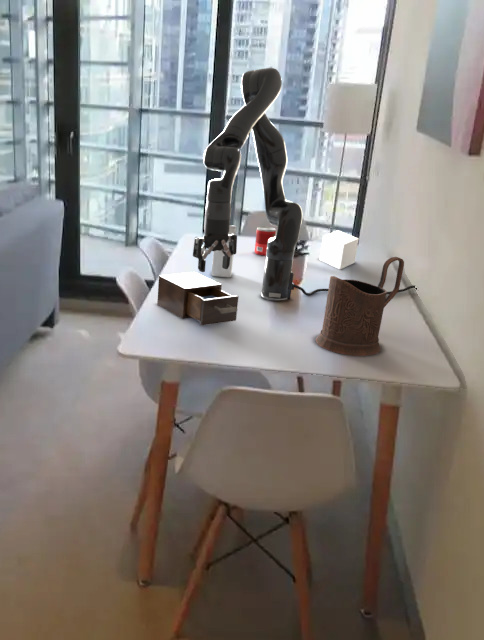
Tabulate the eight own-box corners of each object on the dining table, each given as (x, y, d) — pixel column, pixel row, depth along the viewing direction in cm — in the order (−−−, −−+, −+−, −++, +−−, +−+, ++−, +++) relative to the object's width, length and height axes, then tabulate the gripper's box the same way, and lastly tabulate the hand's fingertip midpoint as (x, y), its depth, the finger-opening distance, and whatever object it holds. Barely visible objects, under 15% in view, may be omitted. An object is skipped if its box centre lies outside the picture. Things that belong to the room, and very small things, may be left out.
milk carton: (230, 278, 271) (235, 227, 263) (211, 276, 272) (215, 226, 264) (231, 273, 277) (236, 224, 270) (213, 271, 278) (217, 222, 271)
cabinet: (219, 313, 230) (221, 284, 226) (182, 318, 224) (184, 288, 220) (192, 300, 243) (194, 271, 239) (157, 304, 236) (158, 275, 232)
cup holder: (302, 336, 213) (314, 253, 204) (366, 328, 222) (381, 249, 213) (342, 358, 198) (357, 270, 188) (409, 349, 207) (427, 265, 197)
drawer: (245, 325, 218) (248, 300, 214) (210, 330, 212) (213, 305, 209) (209, 307, 233) (211, 283, 230) (176, 311, 227) (178, 287, 224)
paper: (321, 268, 291) (325, 243, 287) (317, 252, 317) (320, 228, 313) (358, 271, 289) (362, 245, 285) (351, 254, 315) (355, 231, 311)
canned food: (274, 256, 306) (277, 230, 302) (255, 255, 306) (258, 229, 302) (271, 252, 313) (274, 226, 309) (253, 251, 313) (255, 226, 309)
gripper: (229, 212, 217) (225, 264, 223) (190, 215, 210) (187, 269, 217) (244, 217, 211) (239, 270, 217) (204, 220, 204) (200, 275, 211)
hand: (213, 270), depth 217 cm, fingers open, 8 cm apart
